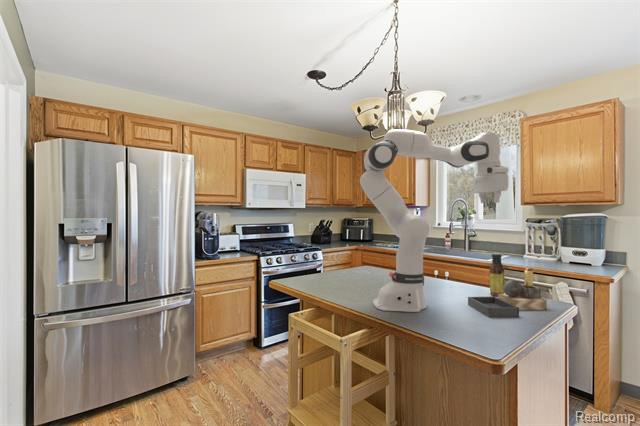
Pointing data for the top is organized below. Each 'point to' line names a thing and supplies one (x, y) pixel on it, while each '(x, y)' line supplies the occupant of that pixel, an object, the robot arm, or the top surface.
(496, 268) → the sauce bottle
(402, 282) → the robot arm
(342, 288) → the top surface
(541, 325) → the top surface
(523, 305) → the block
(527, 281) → the pin
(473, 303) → the tray
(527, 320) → the top surface
